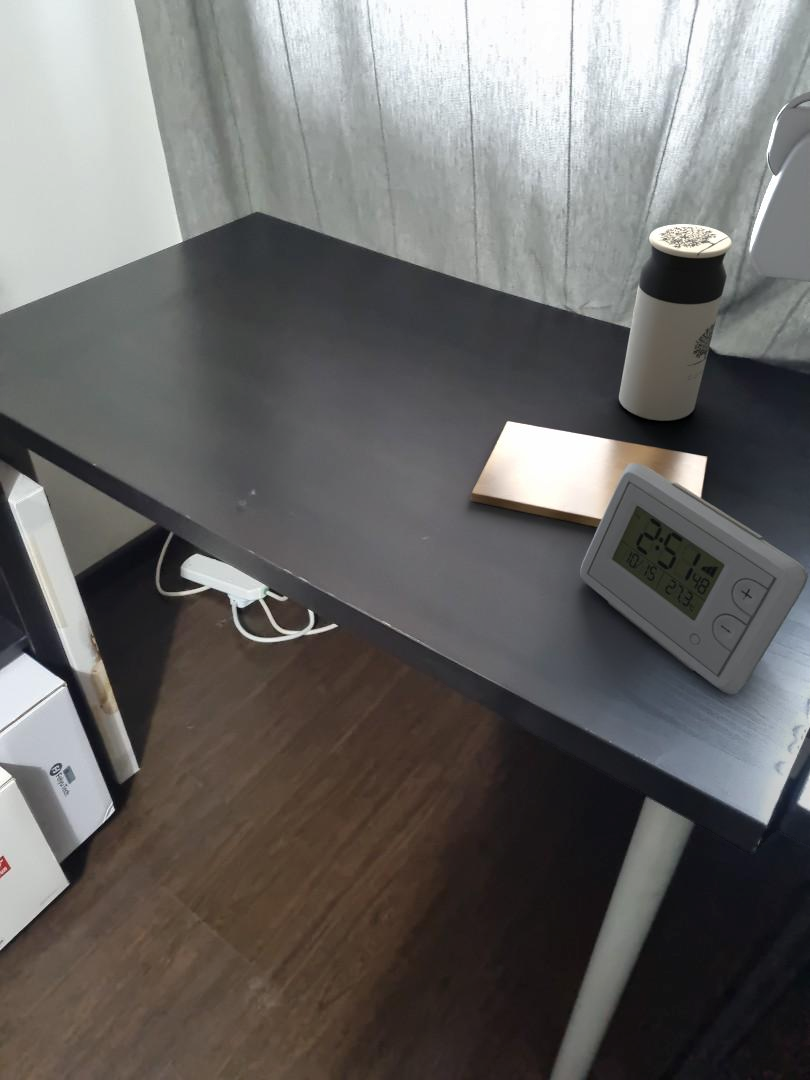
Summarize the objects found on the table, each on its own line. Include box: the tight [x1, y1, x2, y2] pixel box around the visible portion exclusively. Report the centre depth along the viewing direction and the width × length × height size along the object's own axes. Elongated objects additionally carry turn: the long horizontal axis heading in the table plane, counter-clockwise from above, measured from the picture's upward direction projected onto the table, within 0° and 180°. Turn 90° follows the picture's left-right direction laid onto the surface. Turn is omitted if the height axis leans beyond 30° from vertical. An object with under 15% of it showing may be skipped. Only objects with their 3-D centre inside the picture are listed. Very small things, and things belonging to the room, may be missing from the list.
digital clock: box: [579, 463, 809, 695], centre depth 61 cm, size 16×9×11 cm, turn 23°
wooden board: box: [470, 420, 708, 528], centre depth 78 cm, size 20×13×1 cm, turn 70°
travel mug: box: [618, 223, 733, 422], centre depth 84 cm, size 8×8×18 cm
